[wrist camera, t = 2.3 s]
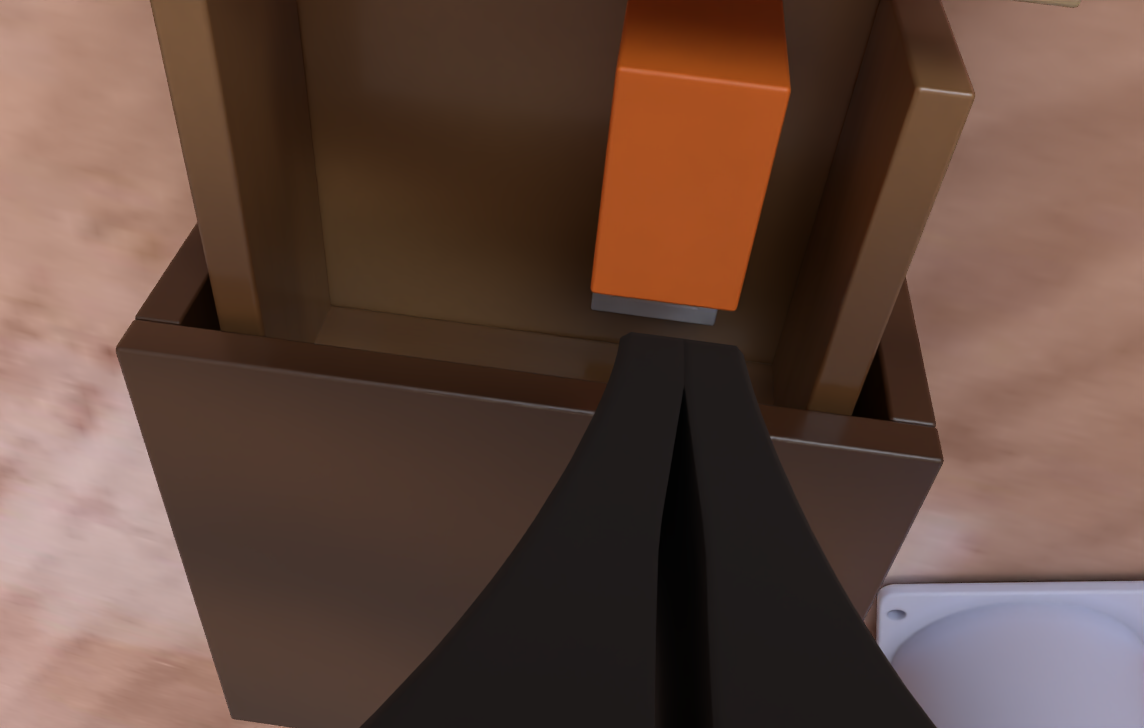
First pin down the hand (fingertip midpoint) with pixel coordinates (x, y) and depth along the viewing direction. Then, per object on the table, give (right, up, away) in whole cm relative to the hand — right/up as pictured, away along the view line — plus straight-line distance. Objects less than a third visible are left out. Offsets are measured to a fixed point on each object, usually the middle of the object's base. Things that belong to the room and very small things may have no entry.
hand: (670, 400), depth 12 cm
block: (+1, +4, +6) cm, 7 cm away
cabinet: (-2, 0, +13) cm, 14 cm away
